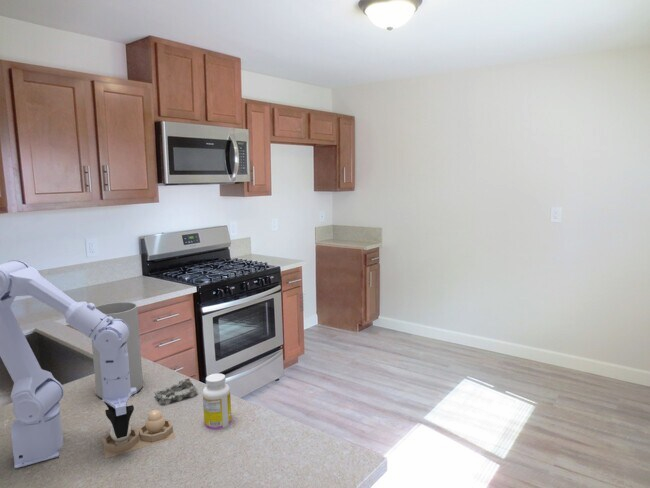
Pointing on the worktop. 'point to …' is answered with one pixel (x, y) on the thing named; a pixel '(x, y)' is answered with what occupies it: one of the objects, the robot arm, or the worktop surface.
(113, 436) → the cream egg
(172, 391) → the egg carton
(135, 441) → the egg tray
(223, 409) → the supplement bottle
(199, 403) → the worktop surface
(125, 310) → the cylinder vase
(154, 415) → the brown egg
